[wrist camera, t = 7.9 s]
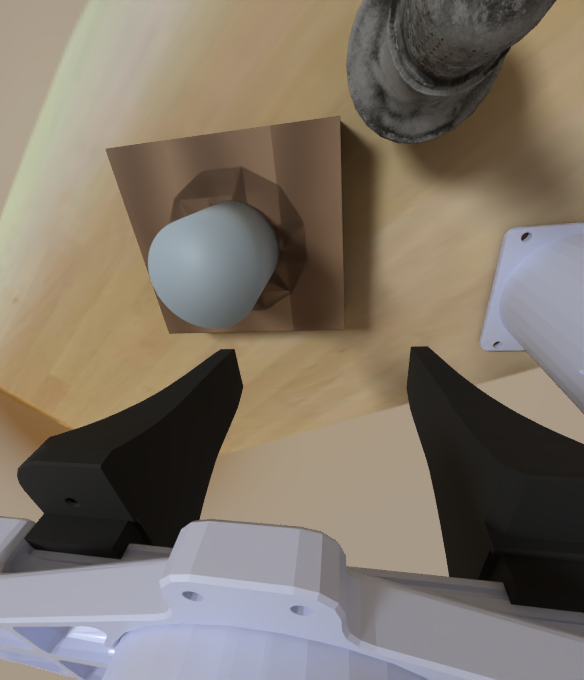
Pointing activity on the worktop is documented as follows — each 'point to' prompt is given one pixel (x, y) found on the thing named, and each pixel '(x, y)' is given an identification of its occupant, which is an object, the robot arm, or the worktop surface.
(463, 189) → the worktop surface
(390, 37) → the grey flared cylinder
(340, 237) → the board
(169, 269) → the peg
